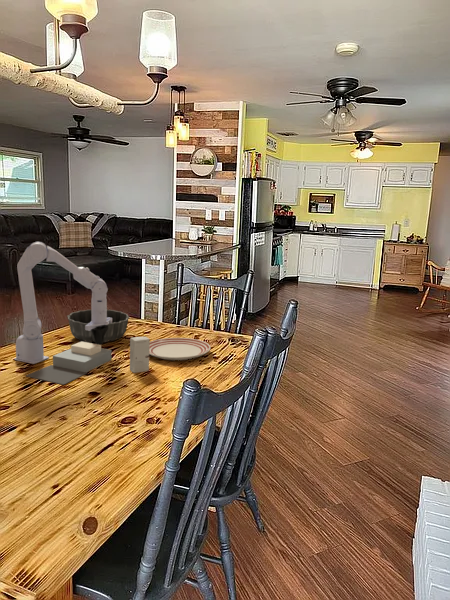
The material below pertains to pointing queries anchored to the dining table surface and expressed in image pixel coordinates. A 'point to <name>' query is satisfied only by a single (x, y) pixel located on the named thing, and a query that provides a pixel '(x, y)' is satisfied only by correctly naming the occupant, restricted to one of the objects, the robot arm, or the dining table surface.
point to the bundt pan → (114, 329)
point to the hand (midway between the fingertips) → (99, 344)
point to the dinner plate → (178, 348)
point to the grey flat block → (81, 360)
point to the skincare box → (139, 354)
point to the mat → (56, 374)
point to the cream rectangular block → (86, 348)
